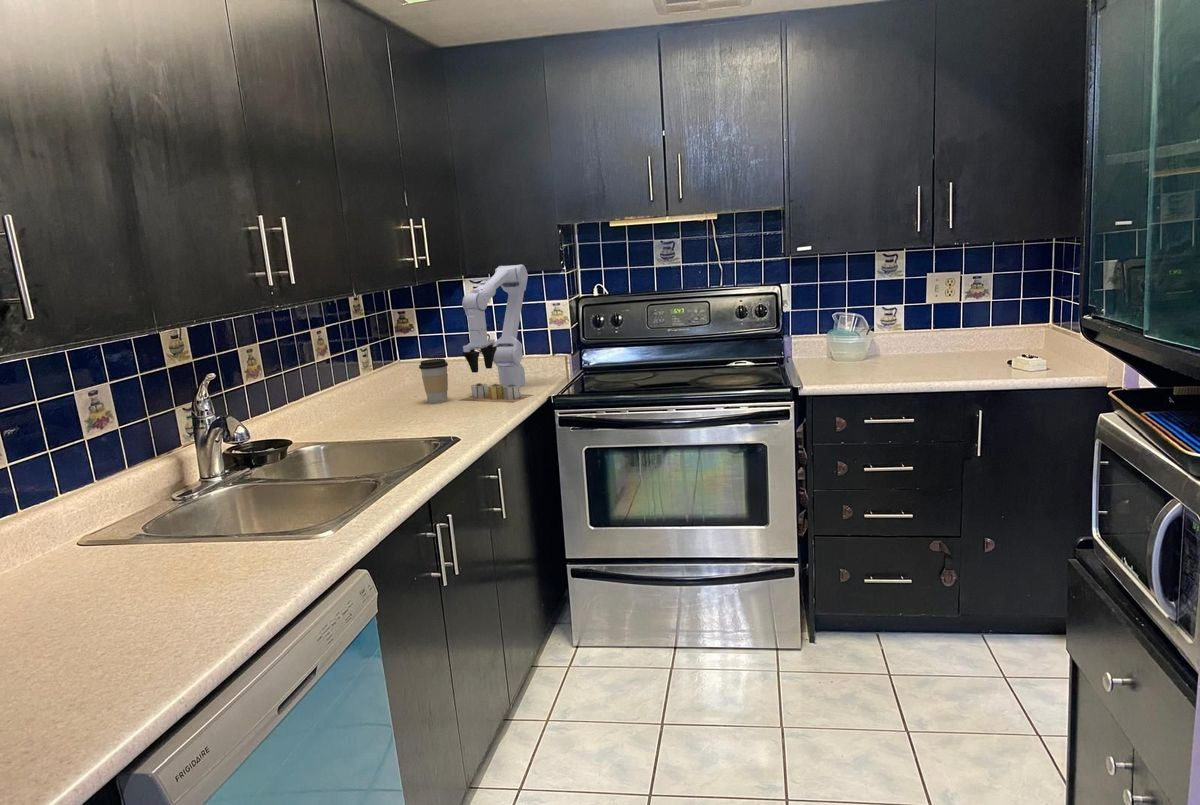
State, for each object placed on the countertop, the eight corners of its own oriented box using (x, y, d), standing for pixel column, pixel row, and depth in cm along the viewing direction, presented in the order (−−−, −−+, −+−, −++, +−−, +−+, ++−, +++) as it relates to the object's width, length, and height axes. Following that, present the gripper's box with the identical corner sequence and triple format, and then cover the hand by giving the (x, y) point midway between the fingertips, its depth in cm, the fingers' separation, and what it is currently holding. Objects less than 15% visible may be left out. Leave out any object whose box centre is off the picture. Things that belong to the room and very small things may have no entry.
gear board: (481, 397, 277) (479, 380, 276) (534, 399, 266) (533, 381, 265) (458, 404, 267) (456, 386, 265) (513, 407, 256) (511, 388, 255)
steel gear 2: (506, 397, 266) (505, 384, 265) (522, 396, 265) (520, 384, 264) (502, 400, 261) (501, 387, 260) (518, 399, 260) (517, 387, 259)
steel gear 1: (478, 395, 273) (477, 383, 272) (491, 395, 270) (490, 383, 269) (469, 398, 268) (467, 386, 267) (481, 398, 266) (480, 386, 265)
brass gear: (501, 395, 269) (500, 383, 268) (508, 397, 265) (506, 385, 264) (486, 397, 267) (485, 385, 266) (493, 399, 262) (492, 387, 261)
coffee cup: (455, 401, 272) (450, 357, 269) (448, 407, 263) (442, 361, 260) (428, 403, 273) (423, 359, 270) (419, 409, 264) (414, 363, 261)
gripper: (481, 326, 276) (485, 366, 278) (454, 332, 263) (458, 374, 266) (498, 326, 272) (502, 366, 275) (471, 332, 260) (475, 374, 263)
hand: (482, 370), depth 270 cm, fingers open, 7 cm apart
